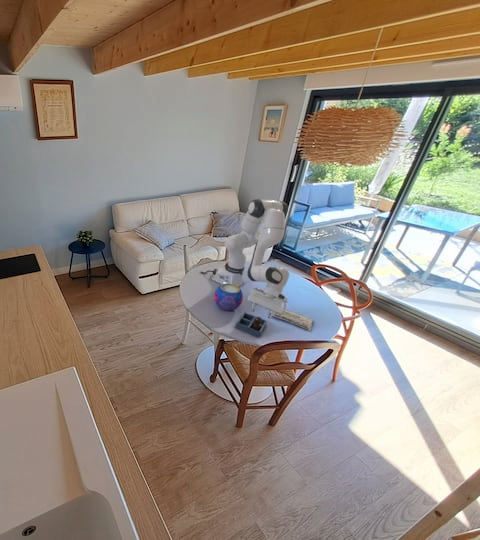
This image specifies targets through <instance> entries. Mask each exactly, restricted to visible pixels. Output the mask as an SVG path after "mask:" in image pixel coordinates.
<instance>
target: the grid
mask: <svg viewBox="0 0 480 540" xmlns="http://www.w3.org/2000/svg"><path fill="white" fill-rule="evenodd" d="M256 317H257V316H255V315H252V314H250V313H248V312H245V311H244V312H243V314H242V315H241V316H240V318H239V319H238V320H237V322H236V324H235V325H236V326H235V329H237V330H240V331H243V332H244V333H248V334H250V335H252V336H254V337H258V338H260V336H262V335H261V334H263V331H264V330H265V328H266V326H267V323H268V320H266V319H263V318H261V322H262V323H261V326H260V329H259V331H257V330H255V329H252V326H253V322H254V320H255V318H256Z"/></svg>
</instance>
